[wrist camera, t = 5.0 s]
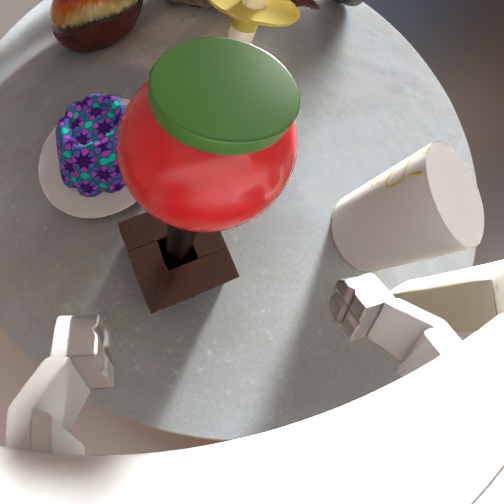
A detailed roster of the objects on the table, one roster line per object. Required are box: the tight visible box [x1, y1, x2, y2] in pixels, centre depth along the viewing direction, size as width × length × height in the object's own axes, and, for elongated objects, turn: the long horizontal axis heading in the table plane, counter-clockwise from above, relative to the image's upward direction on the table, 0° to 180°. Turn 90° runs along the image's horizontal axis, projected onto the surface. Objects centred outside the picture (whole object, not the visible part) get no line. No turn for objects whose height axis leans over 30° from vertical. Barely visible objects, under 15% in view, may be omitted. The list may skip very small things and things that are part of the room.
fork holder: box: [118, 212, 239, 313], centre depth 20 cm, size 6×6×4 cm
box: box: [390, 260, 504, 332], centre depth 21 cm, size 5×4×13 cm
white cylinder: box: [332, 141, 484, 272], centre depth 22 cm, size 8×8×12 cm
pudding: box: [38, 94, 137, 218], centre depth 19 cm, size 12×12×5 cm
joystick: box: [117, 37, 300, 269], centre depth 13 cm, size 4×4×19 cm
